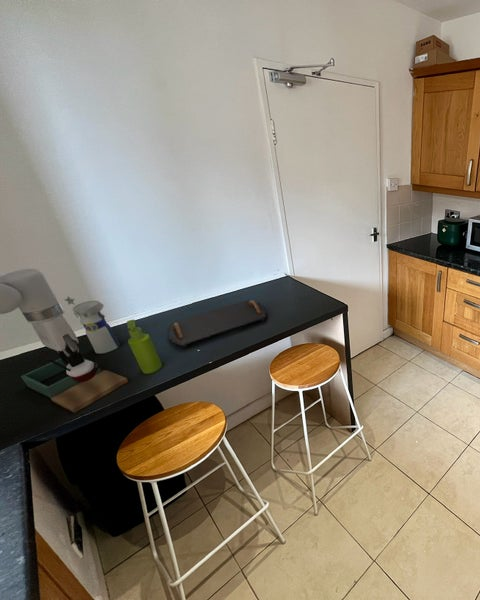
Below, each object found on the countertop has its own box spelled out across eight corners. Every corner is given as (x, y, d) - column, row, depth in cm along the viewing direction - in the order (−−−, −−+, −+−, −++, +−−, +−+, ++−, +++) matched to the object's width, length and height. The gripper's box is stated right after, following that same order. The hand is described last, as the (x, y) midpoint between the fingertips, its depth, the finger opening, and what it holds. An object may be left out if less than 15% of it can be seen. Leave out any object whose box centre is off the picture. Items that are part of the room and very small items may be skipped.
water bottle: (118, 350, 123) (89, 293, 112) (90, 356, 120) (58, 298, 109) (124, 339, 130) (97, 285, 118) (98, 345, 127) (68, 289, 115)
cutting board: (74, 413, 95) (72, 409, 94) (52, 402, 99) (50, 398, 98) (128, 381, 107) (126, 378, 107) (107, 372, 111) (105, 369, 111)
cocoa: (102, 368, 106) (88, 338, 100) (104, 377, 102) (89, 348, 96) (63, 380, 100) (46, 350, 94) (63, 391, 96) (45, 360, 90)
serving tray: (256, 302, 159) (253, 291, 156) (273, 320, 143) (271, 308, 141) (165, 330, 136) (160, 317, 134) (174, 354, 121) (169, 341, 118)
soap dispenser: (143, 377, 109) (119, 329, 100) (142, 367, 114) (119, 320, 105) (163, 370, 112) (142, 323, 103) (161, 361, 117) (140, 315, 108)
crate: (53, 399, 100) (46, 388, 98) (27, 386, 105) (20, 376, 103) (102, 373, 111) (97, 363, 109) (77, 362, 116) (71, 353, 114)
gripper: (11, 312, 89) (45, 363, 97) (42, 324, 84) (75, 377, 92) (45, 301, 95) (74, 350, 104) (76, 311, 90) (104, 362, 98)
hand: (74, 362), depth 98 cm, fingers closed on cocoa, 3 cm apart
